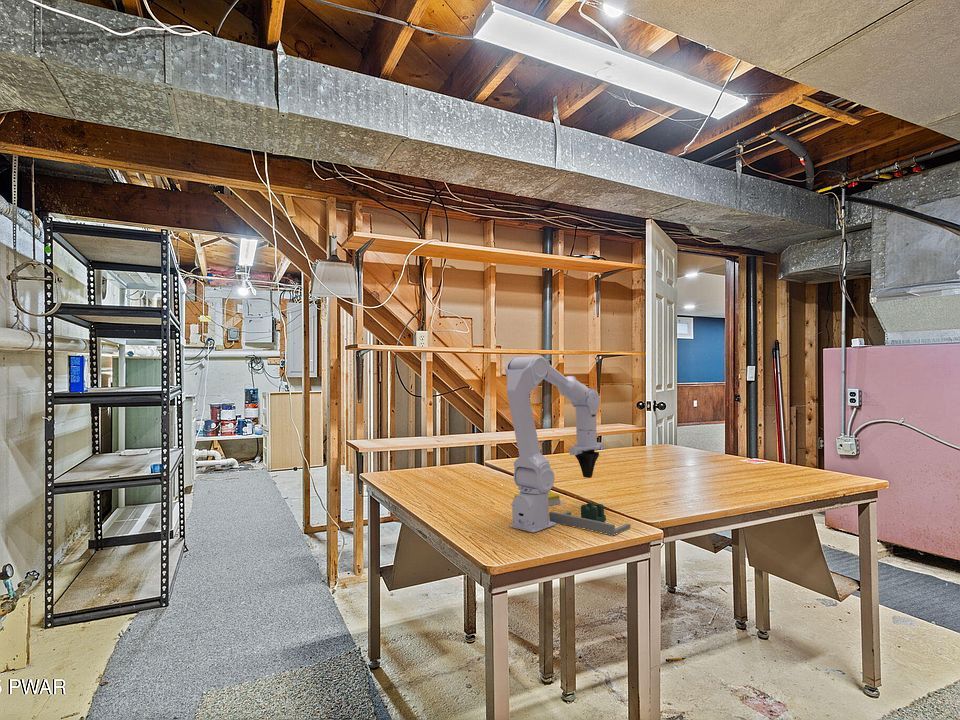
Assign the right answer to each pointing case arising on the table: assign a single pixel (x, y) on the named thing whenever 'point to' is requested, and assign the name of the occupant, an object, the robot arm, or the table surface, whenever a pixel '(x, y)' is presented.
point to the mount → (593, 512)
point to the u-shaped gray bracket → (586, 523)
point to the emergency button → (551, 499)
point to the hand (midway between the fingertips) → (587, 477)
